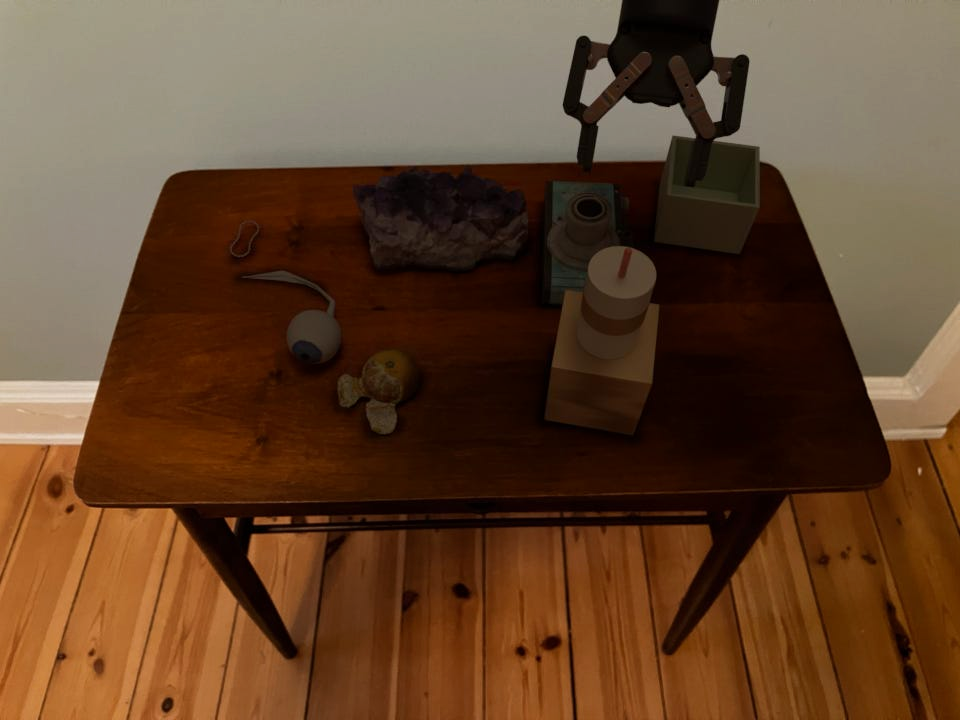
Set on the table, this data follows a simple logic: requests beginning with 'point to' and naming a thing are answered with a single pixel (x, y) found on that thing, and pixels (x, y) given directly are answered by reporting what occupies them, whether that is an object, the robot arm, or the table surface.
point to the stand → (599, 376)
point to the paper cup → (615, 301)
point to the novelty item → (310, 325)
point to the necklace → (250, 240)
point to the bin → (709, 197)
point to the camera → (579, 232)
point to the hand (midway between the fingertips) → (637, 179)
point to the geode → (441, 220)
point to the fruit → (381, 387)
